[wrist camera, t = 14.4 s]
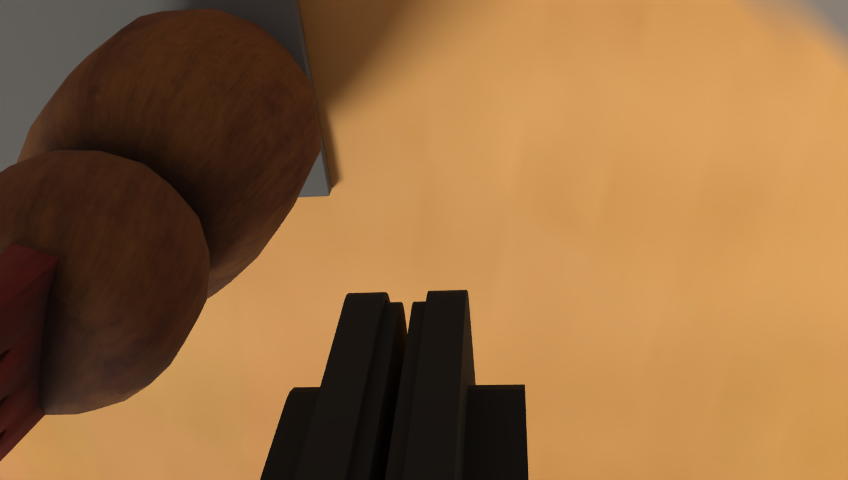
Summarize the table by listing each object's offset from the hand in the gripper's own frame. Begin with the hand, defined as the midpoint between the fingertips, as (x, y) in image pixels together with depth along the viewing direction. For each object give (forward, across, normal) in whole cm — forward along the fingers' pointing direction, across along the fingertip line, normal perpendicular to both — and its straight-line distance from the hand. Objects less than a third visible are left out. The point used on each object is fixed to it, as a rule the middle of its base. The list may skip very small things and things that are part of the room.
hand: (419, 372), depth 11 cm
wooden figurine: (+12, +7, 0) cm, 14 cm away
